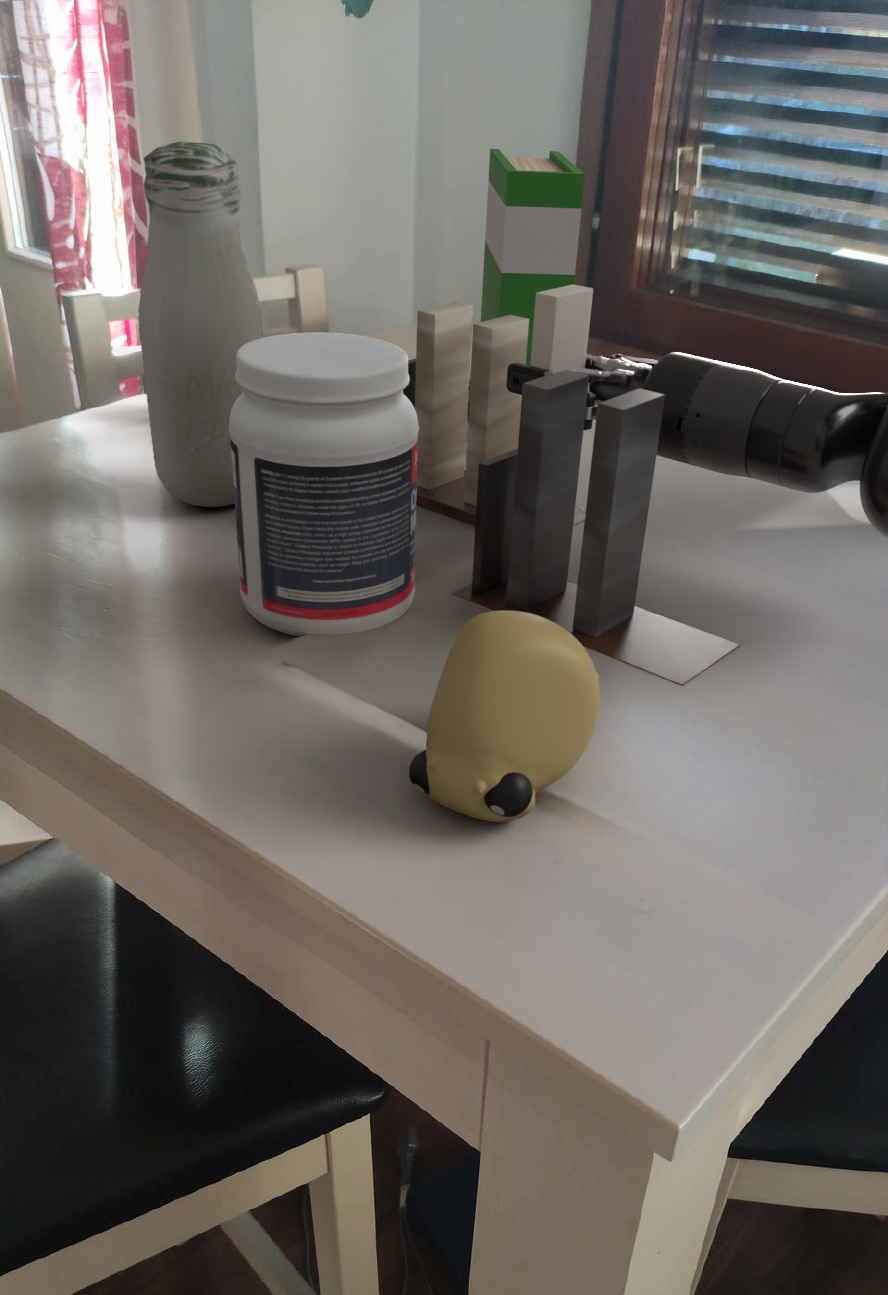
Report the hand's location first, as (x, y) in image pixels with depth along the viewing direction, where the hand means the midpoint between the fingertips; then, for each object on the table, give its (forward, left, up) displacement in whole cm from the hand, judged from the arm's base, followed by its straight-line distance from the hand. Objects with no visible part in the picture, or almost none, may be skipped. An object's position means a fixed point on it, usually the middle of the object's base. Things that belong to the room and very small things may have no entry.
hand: (531, 370), depth 95 cm
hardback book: (-8, -35, -13) cm, 38 cm away
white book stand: (+3, -3, -13) cm, 14 cm away
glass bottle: (+26, -6, -13) cm, 30 cm away
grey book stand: (0, +21, -13) cm, 25 cm away
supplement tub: (+18, +16, -13) cm, 27 cm away
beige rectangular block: (-2, +2, -8) cm, 9 cm away
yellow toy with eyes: (+10, +40, -13) cm, 43 cm away
